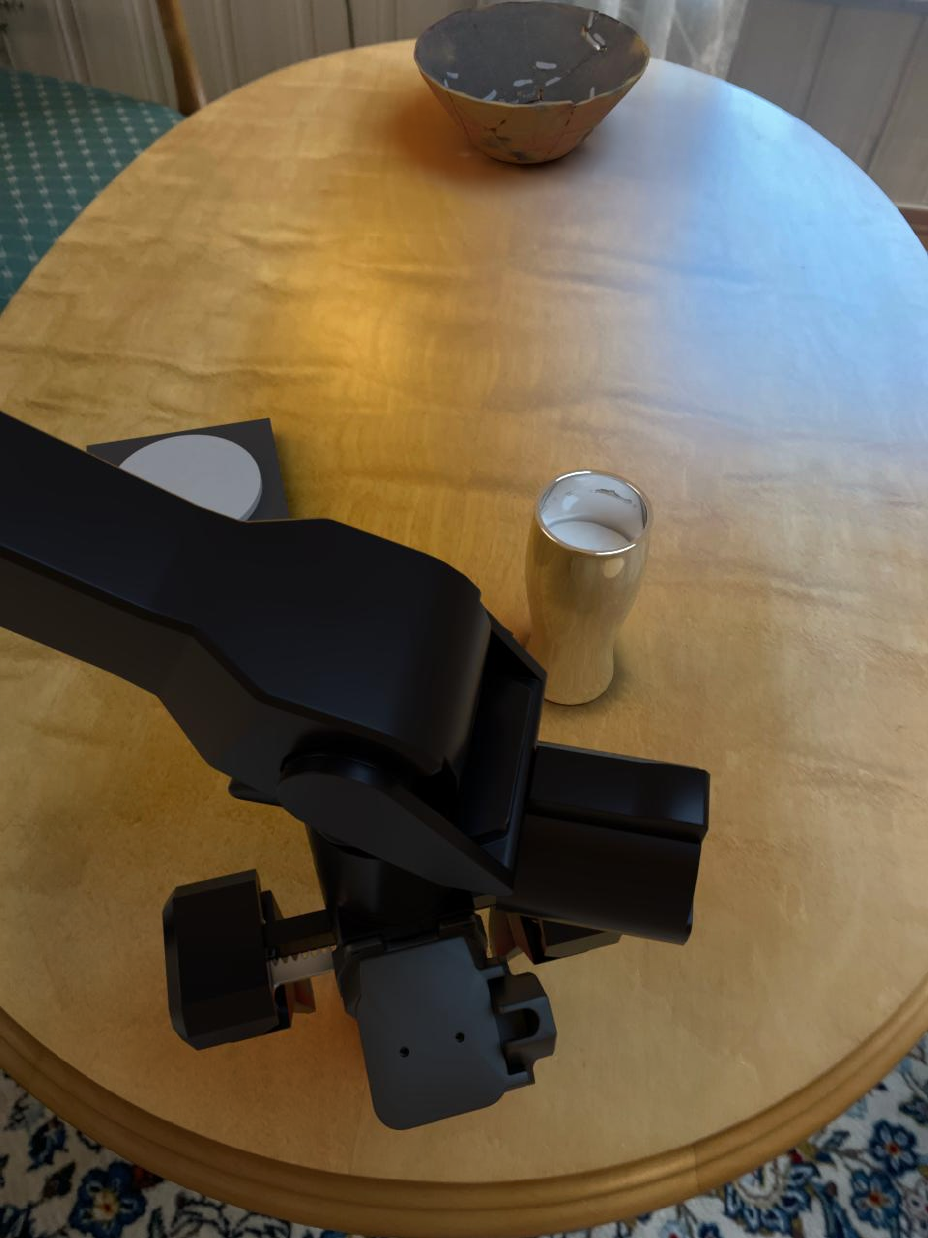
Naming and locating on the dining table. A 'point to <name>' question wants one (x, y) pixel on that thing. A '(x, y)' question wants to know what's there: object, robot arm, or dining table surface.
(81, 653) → the robot arm
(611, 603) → the beer glass
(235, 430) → the scale
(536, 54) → the bowl
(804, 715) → the dining table surface
